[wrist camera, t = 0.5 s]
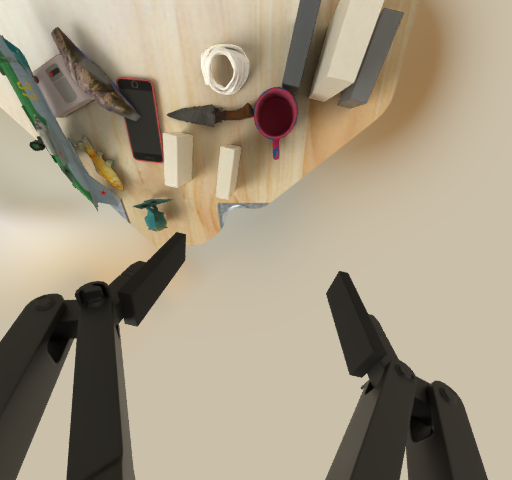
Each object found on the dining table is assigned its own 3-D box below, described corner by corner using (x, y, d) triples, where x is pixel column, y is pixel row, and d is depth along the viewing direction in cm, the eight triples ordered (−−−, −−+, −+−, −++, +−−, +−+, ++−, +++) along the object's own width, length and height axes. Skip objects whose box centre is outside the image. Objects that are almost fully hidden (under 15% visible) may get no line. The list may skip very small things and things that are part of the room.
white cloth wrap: (248, 45, 31) (246, 27, 27) (251, 95, 34) (249, 86, 29) (201, 50, 32) (191, 32, 27) (207, 99, 34) (199, 90, 30)
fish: (126, 186, 42) (113, 196, 44) (133, 184, 44) (120, 194, 45) (82, 131, 38) (69, 145, 40) (91, 132, 40) (79, 145, 42)
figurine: (122, 207, 47) (136, 235, 49) (110, 210, 38) (128, 243, 41) (171, 193, 50) (182, 219, 52) (170, 193, 42) (183, 224, 44)
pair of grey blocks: (281, 91, 33) (282, 82, 27) (297, 18, 28) (302, -13, 22) (350, 108, 33) (367, 103, 27) (377, 37, 28) (404, 12, 22)
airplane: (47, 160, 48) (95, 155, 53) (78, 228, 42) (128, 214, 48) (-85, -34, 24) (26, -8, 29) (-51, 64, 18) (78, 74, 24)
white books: (181, 177, 42) (164, 185, 36) (181, 132, 38) (162, 132, 32) (235, 190, 42) (228, 199, 36) (241, 146, 38) (234, 149, 32)
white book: (308, 98, 33) (326, 76, 20) (328, 25, 28) (369, -64, 15) (324, 102, 33) (354, 82, 20) (347, 30, 28) (404, -55, 16)
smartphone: (152, 79, 33) (164, 163, 40) (154, 80, 34) (166, 163, 41) (114, 76, 34) (133, 160, 41) (116, 77, 34) (134, 159, 41)
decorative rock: (140, 113, 35) (123, 132, 36) (145, 115, 37) (128, 133, 38) (52, 19, 29) (33, 45, 30) (64, 28, 31) (46, 52, 32)
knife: (254, 101, 32) (248, 132, 34) (256, 107, 34) (250, 136, 36) (165, 84, 34) (162, 114, 35) (172, 91, 36) (169, 119, 37)
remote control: (104, 94, 36) (91, 91, 33) (49, 125, 40) (33, 125, 37) (78, 49, 33) (61, 42, 30) (21, 88, 37) (2, 84, 34)
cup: (297, 96, 33) (301, 88, 27) (289, 157, 38) (291, 162, 32) (259, 94, 33) (255, 86, 28) (256, 155, 38) (252, 159, 33)
